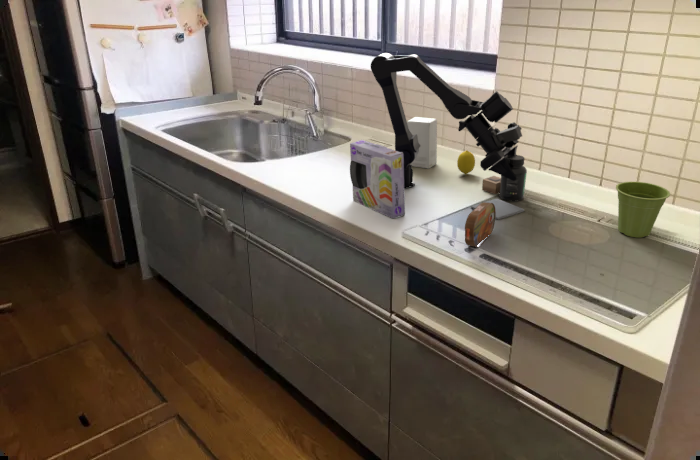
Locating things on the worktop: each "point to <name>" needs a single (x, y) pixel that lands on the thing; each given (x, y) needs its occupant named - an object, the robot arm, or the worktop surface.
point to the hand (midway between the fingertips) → (518, 176)
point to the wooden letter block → (491, 184)
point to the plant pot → (639, 207)
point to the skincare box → (425, 141)
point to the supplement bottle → (514, 188)
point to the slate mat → (503, 208)
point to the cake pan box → (378, 178)
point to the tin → (480, 223)
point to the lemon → (466, 162)
